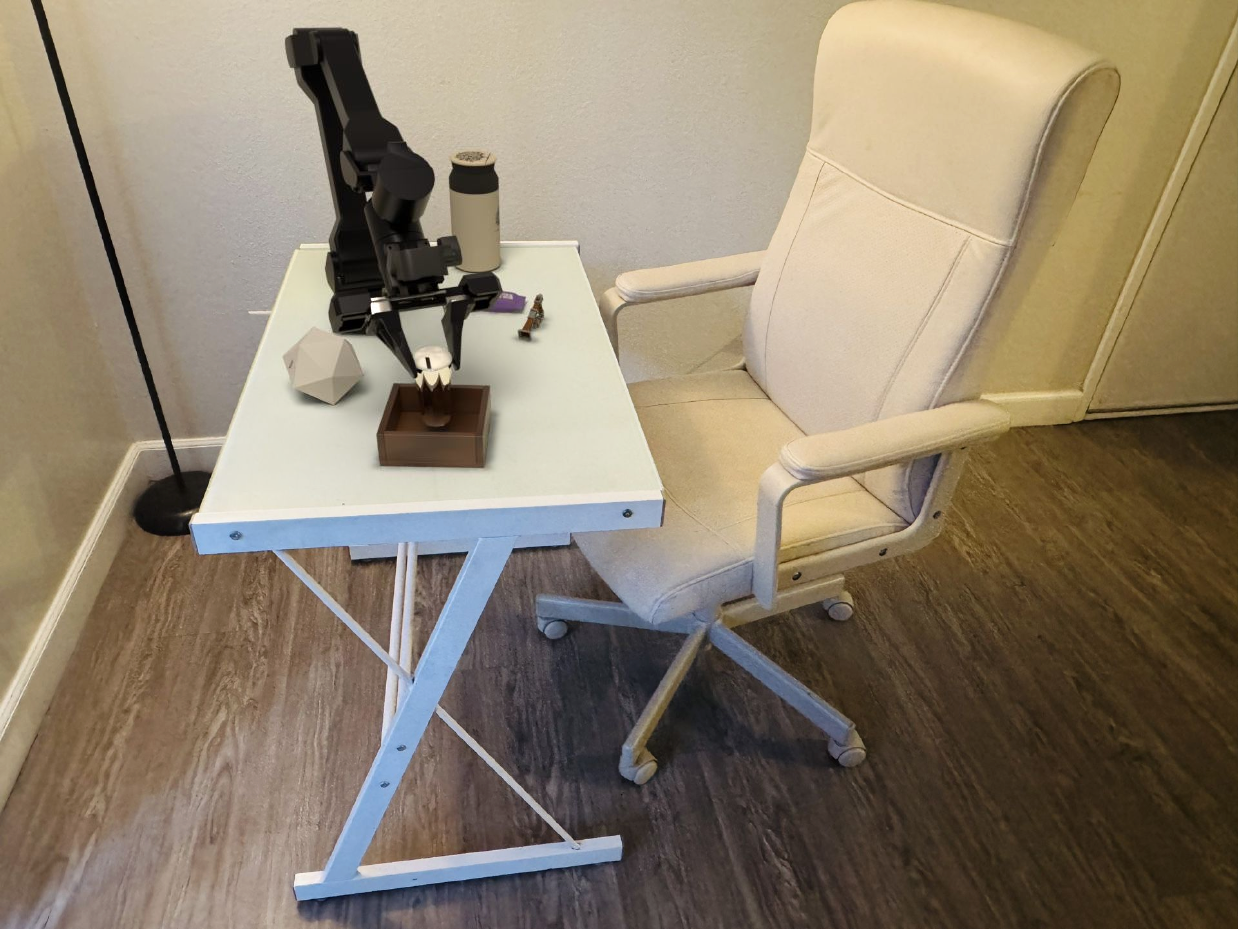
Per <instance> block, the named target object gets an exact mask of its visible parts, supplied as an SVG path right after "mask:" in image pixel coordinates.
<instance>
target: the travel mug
mask: <svg viewBox="0 0 1238 929" xmlns="http://www.w3.org/2000/svg"><path fill="white" fill-rule="evenodd" d="M448 159H449V161H450V163H451V168H452V169H451V171H450V173H449V175H448V190H449V191H448V192H449V209H450V226H451V236H454V235H456V237H457V240H458V242H459V245H460V249H461V254H462V260H463V261H462V264H461V265H458V266H455V267H456V268H458V269H459V270H461V271H464V272H469V273H482V272H489V271H493V270H494V269H497V268H499V266H501V225H500V223H501V221H500V220H501V219H500V218H501V216H500V177H499V175H498V173H497V172H496V170H495V166H496V162H497V160H498V158H497V156H496V155H495V154H493V153H491V152H488V151H482V150H460V151H456V152H453V153H451V154H450V155H449V156H448Z"/></svg>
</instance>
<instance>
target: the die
mask: <svg viewBox="0 0 1238 929" xmlns="http://www.w3.org/2000/svg"><path fill="white" fill-rule="evenodd" d="M282 360H283V361H284V365H285V368H286V371H287V373H288V374H287V375H288V377H289V380H290V383H291V386H292V388H293V389H295V390H297V391H300V392H302V393H304V394H306V395H309V396H311V397H313V398H316V399H318V400H321V401H323V402H326V403H327V404H329V405H332V406H335V404H336V403H337V402H338V401H339V400H341V399H342V397H344V396H345V394H347V392H348V391H349V390H351V389H352V388H353V387H354V386H355V384H357V383H358V382H359V381H360V380H361V379H362V378H363V377H364V376H365V374H364V371H363V368H362V367H361V366H362V365H361V364H360V361H359V359H358V356H357V353H356V350H355V349H354V346H353V344H352V343H351V342H349V341H348V340H347V339H346V338H345V337H342V336H340V335H338V334H335V333H333V332H329V331H326V330H323V329H321V328H319V327H316V326H312V327H311V328H310V330H308V331H307V332H306V333H305V334H304V335H303V336H302V337H301V338H300V339H299V340H298V341H297V342H296V343H295V344H294V345H293V346H292V347H290V348H289V350H288V351H287V352H285V353H284V354H283V355H282Z"/></svg>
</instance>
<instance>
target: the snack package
mask: <svg viewBox="0 0 1238 929" xmlns="http://www.w3.org/2000/svg"><path fill="white" fill-rule="evenodd" d="M526 298H527V296H525V295H519V294H517V293H515V292H512V291H506V290H503V292H502V294H501V295H500V297H499V298H498V300H497V302H496V303H495V305H494V306H493V308H491V309H489V310H486V311H485V312H491V313H492V312H493V313H512V312H515V311H517V310H518V311H519V310H521V311H522V310H524V306H525V303H526Z"/></svg>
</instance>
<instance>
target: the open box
mask: <svg viewBox="0 0 1238 929" xmlns="http://www.w3.org/2000/svg"><path fill="white" fill-rule="evenodd" d="M491 397H492V396H491V385H487V384H486V385H484V384H454V383H453V384H452V383H451V417H450V422H448V423H447V424H445V425H443V426H437V427H434V426H429V425H427V424H425V423H424V422H423V420H422V415H421V409H420V404H419V399H418V393H417V388H416V383H414V382H413V383H411V382H409V383H408V382H407V383H406V382H393V383H392V386H391V389H390V392H389V395H388V398H387V401H386V404H385V407H384V409H383V413H382V416H381V419H380V423H379V425H378V428H377V431H376V434H375V435H376V445H377V452H378V461H379V466H381V467H382V466H383V467H433V468H434V467H436V468H437V467H439V468H485V462H486V455H487V447H488V440H489V433H490V432H489V431H490V426H491V417H492V403H491V402H492V400H491Z"/></svg>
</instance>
